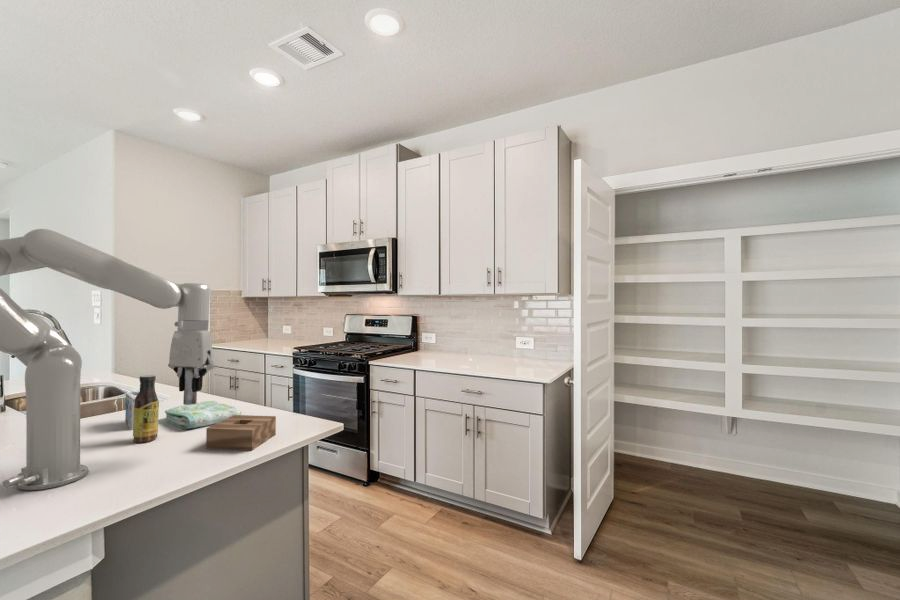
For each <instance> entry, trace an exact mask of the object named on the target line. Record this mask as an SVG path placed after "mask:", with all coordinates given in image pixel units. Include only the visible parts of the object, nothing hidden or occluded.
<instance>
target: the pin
mask: <svg viewBox="0 0 900 600" xmlns="http://www.w3.org/2000/svg"><path fill="white" fill-rule="evenodd" d="M193 378H195V373H194V367H185V377H184V391H183V404H182V405H192V404H196V403H198V402H197V401H198V400H197V399H198V391H197V392H192V380H193Z"/></svg>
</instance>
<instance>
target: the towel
mask: <svg viewBox="0 0 900 600" xmlns="http://www.w3.org/2000/svg"><path fill="white" fill-rule="evenodd" d="M164 413H165V417H166V419H165V421H166V422H167V423H170V424H172V425H175V427H178V428H180V429H184V430H189V429H190V430H191V429H196V428H202V427H208V426H212V425H214V424H217V423H219V422H221V421H223V420H225V419H227V418H229V417H231V416H233V415H243V413H242V411H241V410H240V409H238V408H237V407H235V406H232V405H229V404H226V403H222V402H218V401H214V400H205V401H200V402H197V403H196V404H192V405H184V404H182V405H179V406H175V407H173V408H172V407H171V408H169V409H166V410H164Z"/></svg>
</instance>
